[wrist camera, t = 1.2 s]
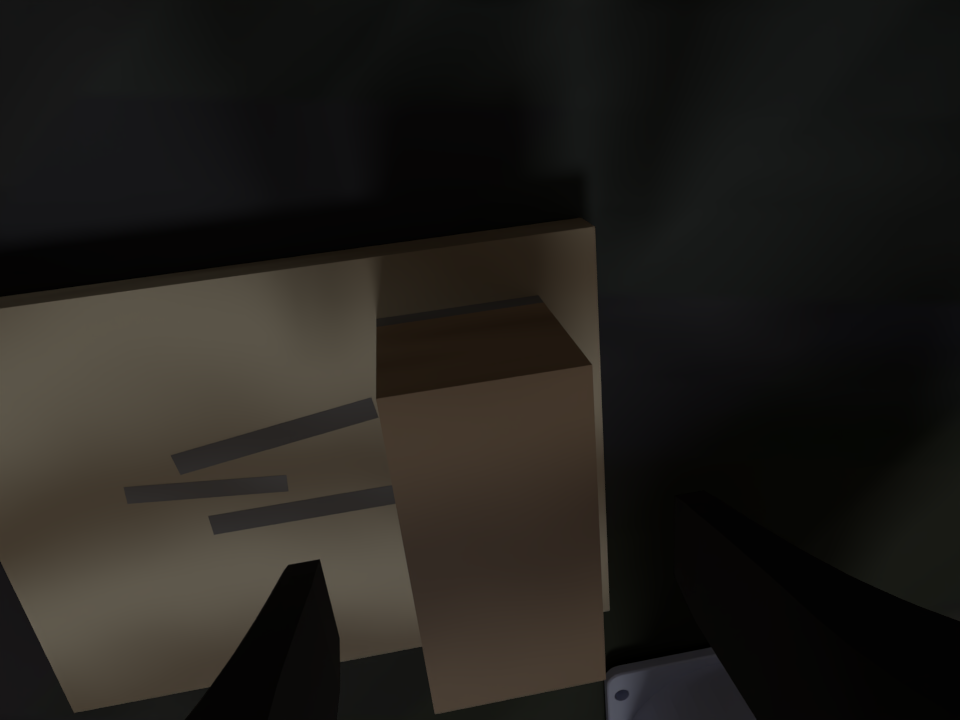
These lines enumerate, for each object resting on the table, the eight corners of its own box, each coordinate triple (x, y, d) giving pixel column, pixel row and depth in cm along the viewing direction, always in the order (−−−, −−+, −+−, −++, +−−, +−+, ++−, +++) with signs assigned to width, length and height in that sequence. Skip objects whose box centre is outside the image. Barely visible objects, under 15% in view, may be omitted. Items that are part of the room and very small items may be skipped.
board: (598, 583, 22) (609, 610, 21) (90, 678, 20) (73, 713, 19) (581, 217, 17) (595, 226, 16) (-80, 308, 16) (-115, 324, 15)
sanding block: (557, 554, 20) (606, 679, 15) (422, 579, 19) (434, 714, 15) (538, 295, 16) (592, 364, 12) (376, 318, 16) (376, 399, 12)
